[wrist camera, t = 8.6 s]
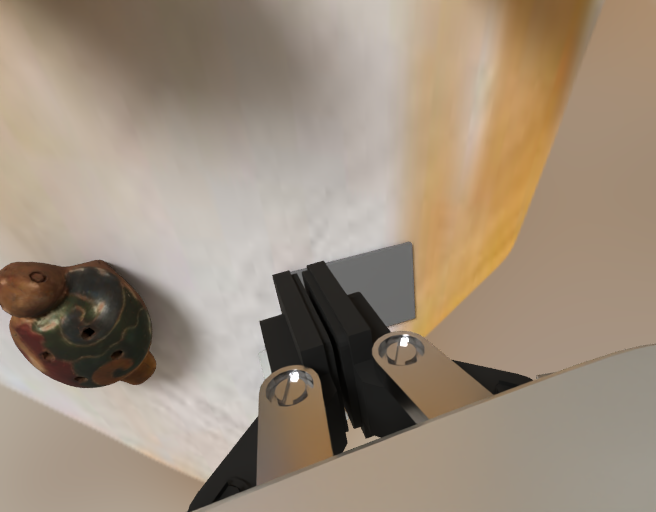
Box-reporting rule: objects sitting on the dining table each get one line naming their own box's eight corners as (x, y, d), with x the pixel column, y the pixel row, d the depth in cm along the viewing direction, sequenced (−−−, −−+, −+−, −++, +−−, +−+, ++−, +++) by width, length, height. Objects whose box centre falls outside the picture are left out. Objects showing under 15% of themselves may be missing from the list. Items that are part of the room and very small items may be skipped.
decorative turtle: (70, 208, 32) (47, 242, 26) (191, 319, 40) (197, 367, 34) (-30, 279, 32) (-81, 332, 25) (113, 377, 40) (104, 438, 33)
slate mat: (409, 241, 44) (411, 243, 43) (412, 315, 48) (415, 318, 47) (280, 274, 40) (281, 277, 40) (296, 351, 44) (297, 354, 44)
